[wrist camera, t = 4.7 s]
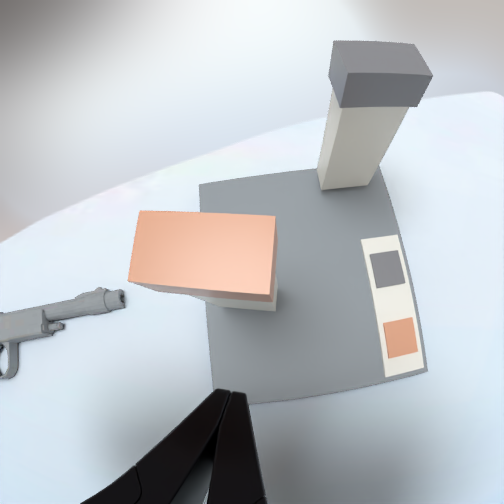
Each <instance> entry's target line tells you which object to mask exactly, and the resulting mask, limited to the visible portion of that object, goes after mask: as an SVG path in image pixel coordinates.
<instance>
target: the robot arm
mask: <svg viewBox="0 0 504 504" xmlns="http://www.w3.org/2000/svg"><path fill="white" fill-rule="evenodd" d="M209 486H210V487H209ZM208 488H209V493H208V500H207V504H268V503H267V498H266V497H265V495H266V494H265V489H264V484H263V479H262V474H261V469H260V464H259V459H258V454H257V448H256V443H255V438H254V433H253V427H252V422H251V416H250V411H249V405H248V400H247V395H246V393H244V392H238V391H232V392H231V391H230V390H226V389H221V388H217V389H215V390H214V391H213V392H212V393H211V394H210V395H209V396H208V397H207V398H206V399H205V400H204V401H203V402H202V403H201V404H200V405H199V406H198V407H197V408H196V409H194V410H193V411H192V412H191V413H190V414H189V415H188V416H187V417H186V418H185V419H184V420H183V421H182V422H181V423H180V424H179V425H178V426H177V427H176V428H175V429H173V430H172V431H171V432H170V433H169V434H168V435H167V436H166V437H165V438H164V439H163V440H162V441H160V442H159V443H158V444H157V445H156V446H155V447H154V448H153V449H152V450H151V451H149V452H148V453H147V454H146V455H145V456H144V457H143V458H142V459H140V460H139V461H138V462H137V463H136V466H135V465H134V466H132V467H131V468H130V469H129V470H128V471H127V472H125V473H124V474H123V475H122V476H121V477H119V478H118V479H117V480H116V481H114V482H113V483H112V484H110V485H109V486H107V487H106V488H104V489H103V490H101V491H100V492H98V493H97V494H95V495H94V496H92V497H90V498H89V499H87V500H85V501H84V502H82V503H80V504H202V503H203V501H204V498H205V496H206V493H207V491H208Z"/></svg>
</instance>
